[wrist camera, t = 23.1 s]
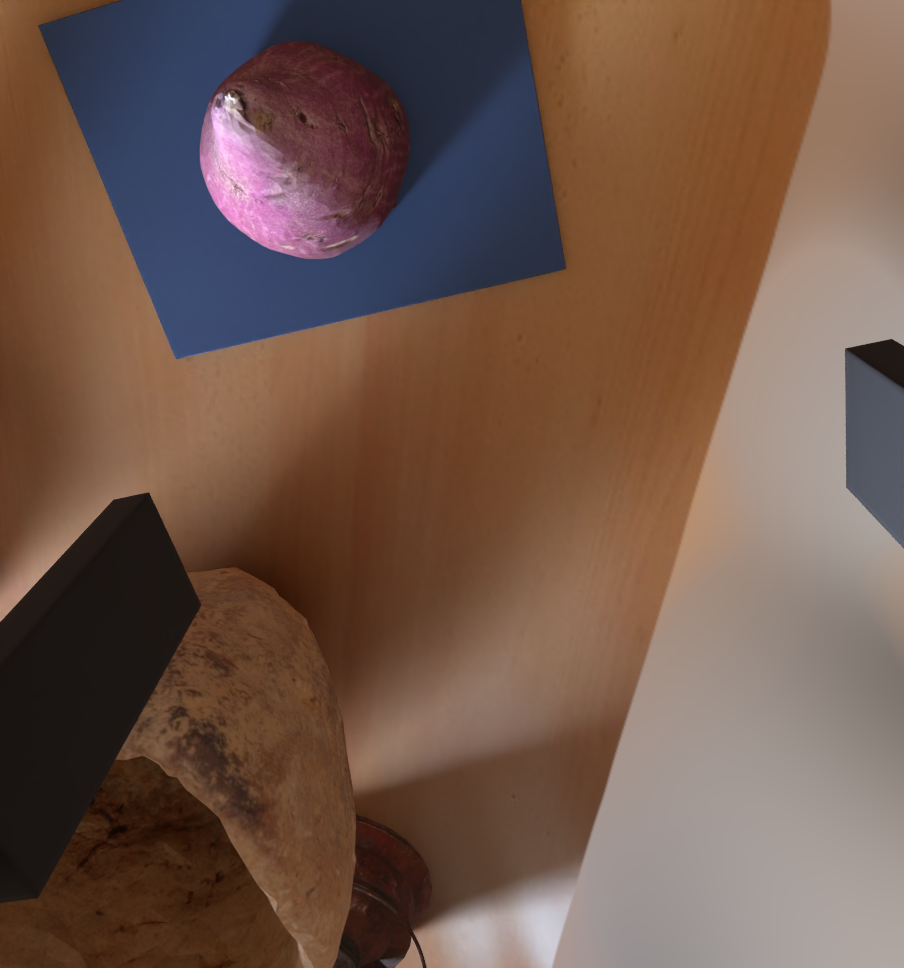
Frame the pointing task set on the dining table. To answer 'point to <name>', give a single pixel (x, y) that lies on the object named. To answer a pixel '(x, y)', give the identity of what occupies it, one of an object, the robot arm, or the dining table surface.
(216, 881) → the rough clay pot
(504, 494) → the dining table surface
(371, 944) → the lantern
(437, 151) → the blue rectangular board
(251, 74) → the vegetable
